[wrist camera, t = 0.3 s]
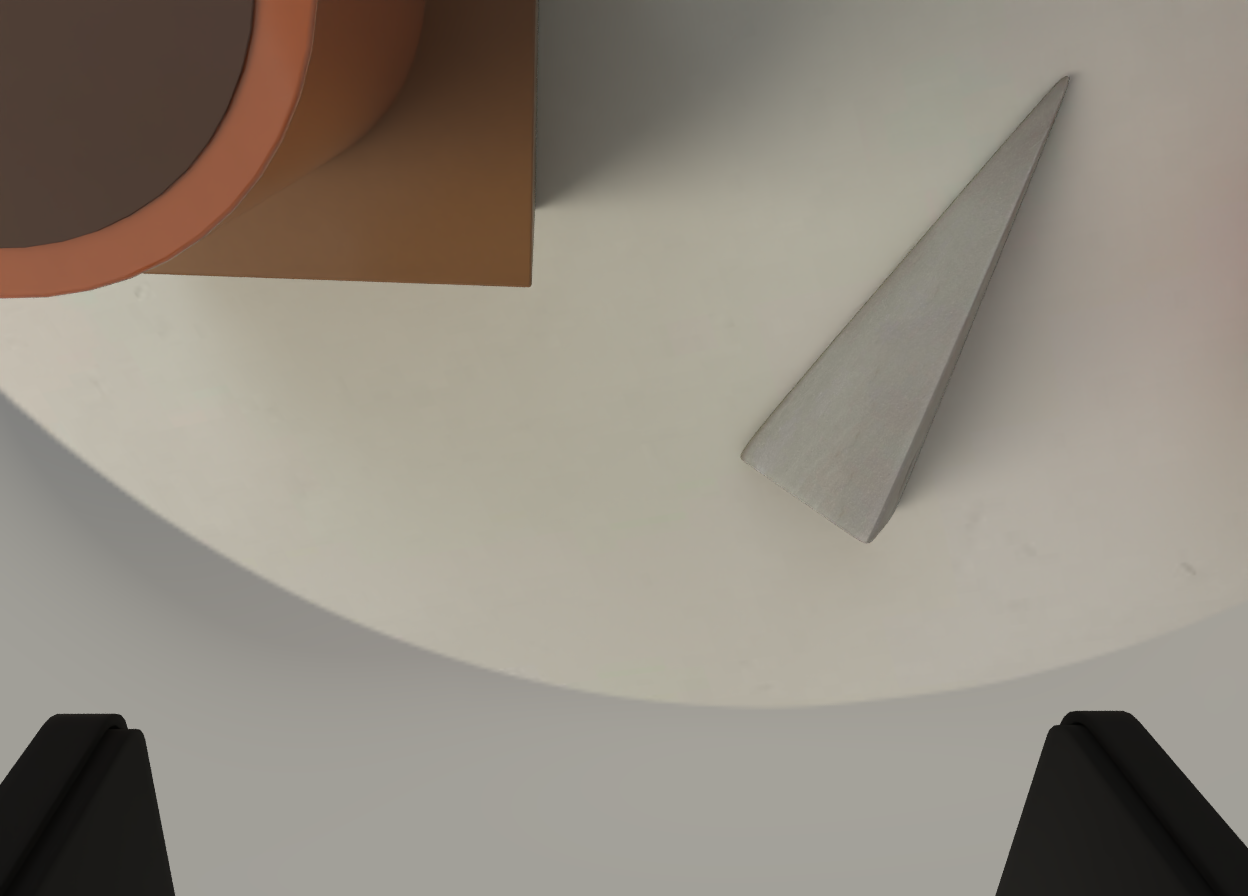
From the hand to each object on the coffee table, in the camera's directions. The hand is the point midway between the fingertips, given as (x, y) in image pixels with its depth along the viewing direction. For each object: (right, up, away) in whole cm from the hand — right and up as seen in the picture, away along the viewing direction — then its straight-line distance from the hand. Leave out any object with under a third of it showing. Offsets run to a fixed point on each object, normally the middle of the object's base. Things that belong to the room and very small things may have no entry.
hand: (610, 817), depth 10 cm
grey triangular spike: (+8, +8, +17) cm, 20 cm away
